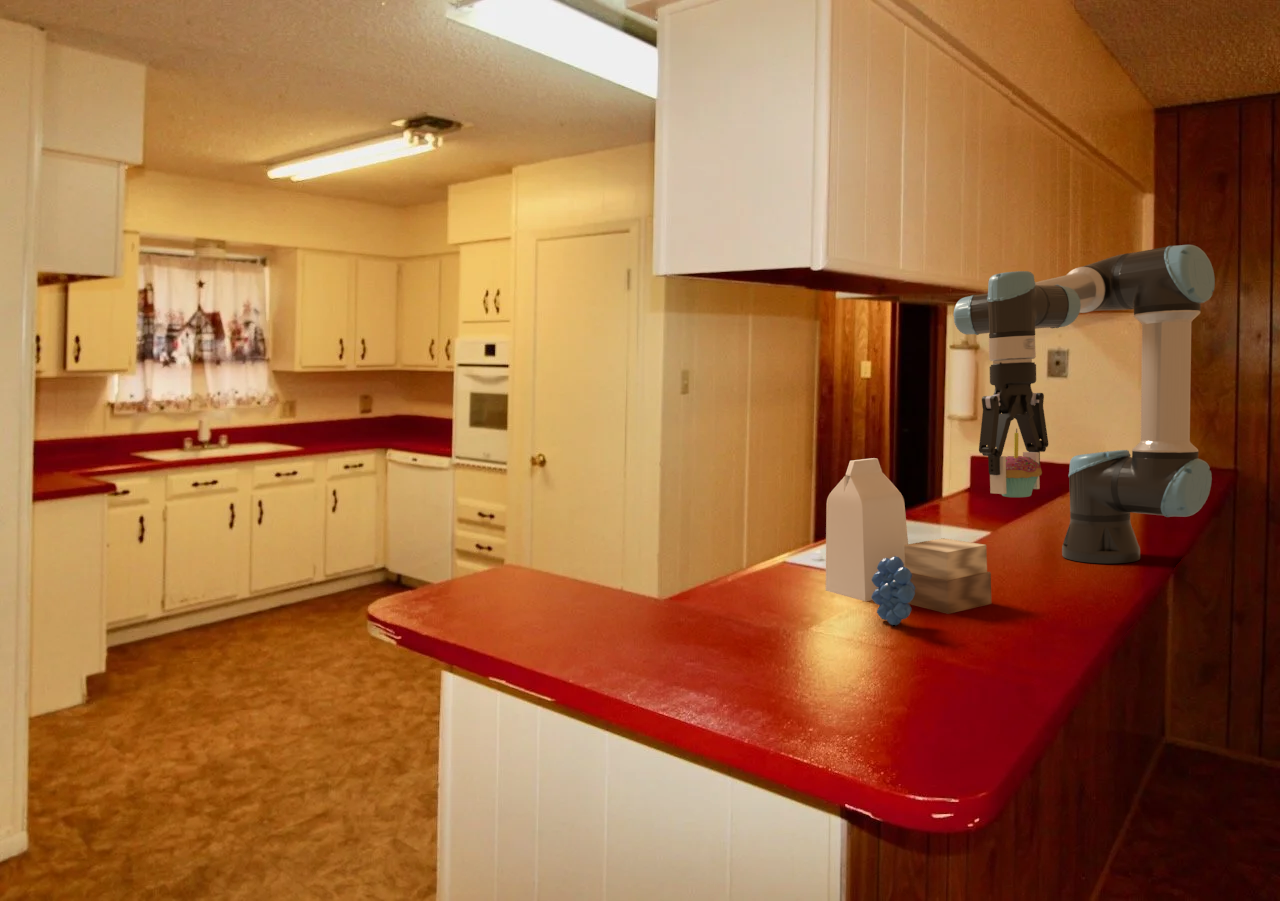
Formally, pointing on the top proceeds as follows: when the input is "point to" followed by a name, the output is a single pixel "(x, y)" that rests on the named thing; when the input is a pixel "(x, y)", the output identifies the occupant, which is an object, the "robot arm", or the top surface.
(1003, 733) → the top surface
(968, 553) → the block top
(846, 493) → the milk
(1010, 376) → the robot arm
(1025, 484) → the cupcake
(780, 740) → the top surface
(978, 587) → the block bottom
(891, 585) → the grapes
